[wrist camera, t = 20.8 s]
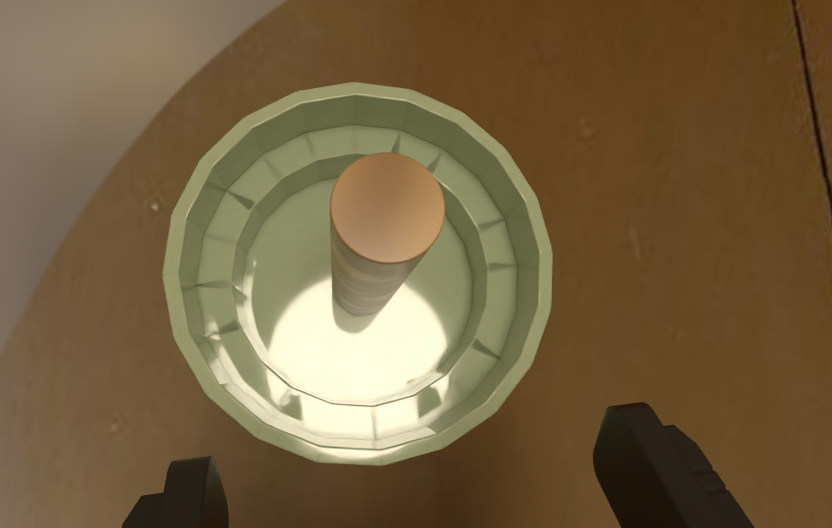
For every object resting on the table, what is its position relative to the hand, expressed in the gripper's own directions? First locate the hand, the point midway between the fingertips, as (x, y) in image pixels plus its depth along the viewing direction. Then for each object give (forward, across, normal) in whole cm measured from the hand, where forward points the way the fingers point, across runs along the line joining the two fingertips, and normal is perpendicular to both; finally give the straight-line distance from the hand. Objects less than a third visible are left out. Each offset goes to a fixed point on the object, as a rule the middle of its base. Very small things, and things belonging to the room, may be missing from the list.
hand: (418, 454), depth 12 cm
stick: (+15, 0, +7) cm, 17 cm away
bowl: (+16, 0, +8) cm, 18 cm away
